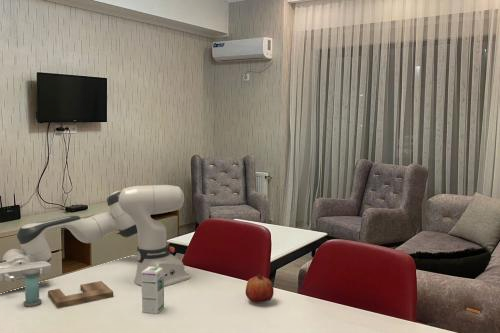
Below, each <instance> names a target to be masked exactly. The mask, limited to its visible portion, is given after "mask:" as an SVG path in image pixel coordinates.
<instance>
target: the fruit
mask: <svg viewBox="0 0 500 333" xmlns="http://www.w3.org/2000/svg"><path fill="white" fill-rule="evenodd" d="M245 296H246V297H247V299H248V300H249V301H251V302H253V303H260V304H261V303H266V302H269V301H270V300H271V299H272V298H273V296H274V284H273V283H272V281H271V279H269V277H265V276H263V274H261V273H260V274H257V275H255V276H253V277H251V278H249V279H248V280H247V282H246V286H245Z"/></svg>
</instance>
